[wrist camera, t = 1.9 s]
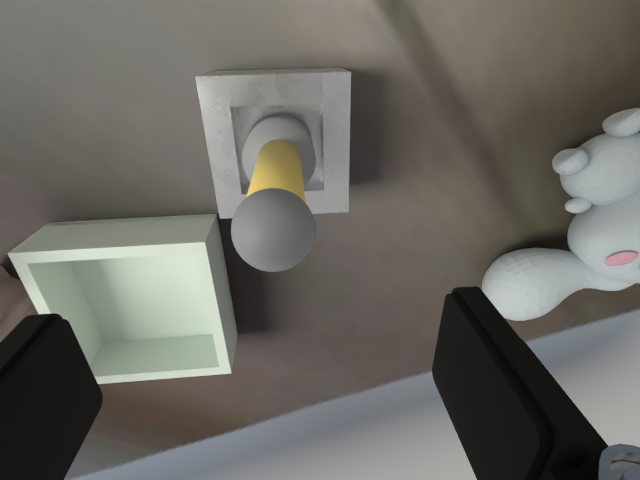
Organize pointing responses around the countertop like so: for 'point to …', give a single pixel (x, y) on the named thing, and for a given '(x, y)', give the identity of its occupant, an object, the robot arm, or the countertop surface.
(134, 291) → the bin
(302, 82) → the grey hollow square block
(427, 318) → the countertop surface
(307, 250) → the strut
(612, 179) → the toy
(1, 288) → the toy
